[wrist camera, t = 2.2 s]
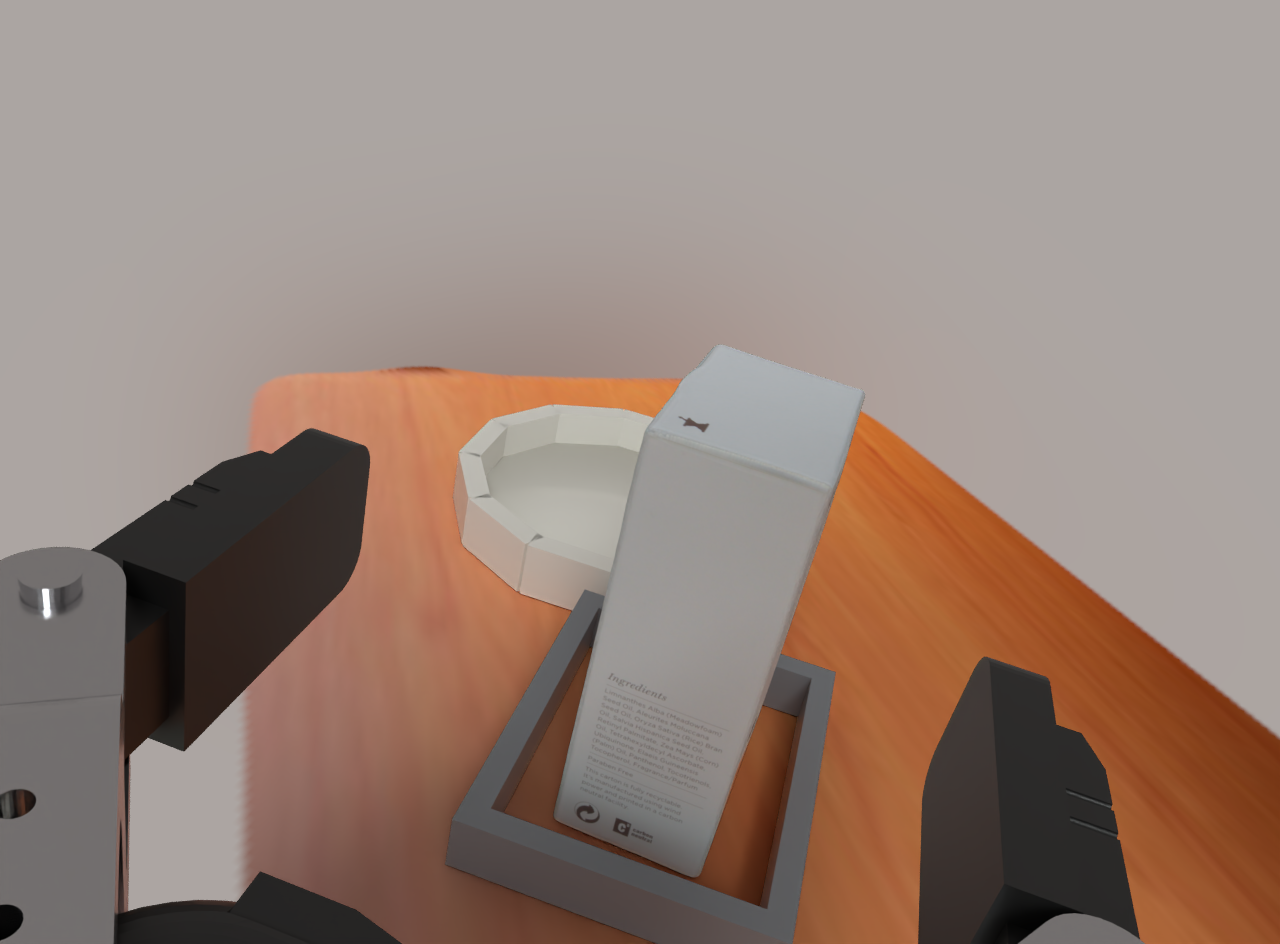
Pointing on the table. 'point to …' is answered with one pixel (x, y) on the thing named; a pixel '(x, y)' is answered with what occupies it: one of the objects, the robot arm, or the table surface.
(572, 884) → the tray
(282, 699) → the table surface
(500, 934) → the table surface
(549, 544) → the bowl
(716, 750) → the skincare box
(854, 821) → the table surface
